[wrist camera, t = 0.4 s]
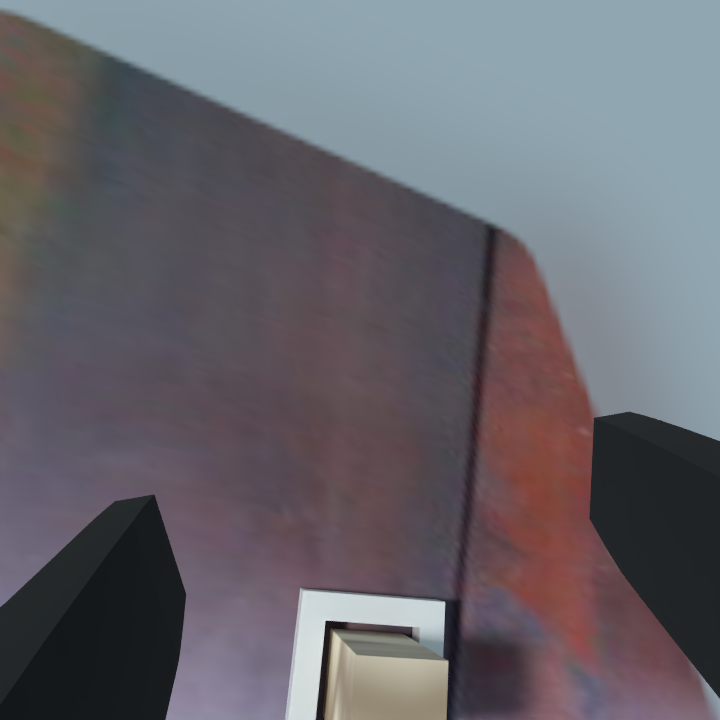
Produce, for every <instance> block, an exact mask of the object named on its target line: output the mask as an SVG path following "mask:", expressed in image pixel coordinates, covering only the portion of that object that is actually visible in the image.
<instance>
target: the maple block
mask: <svg viewBox="0 0 720 720" xmlns="http://www.w3.org/2000/svg"><path fill="white" fill-rule="evenodd" d="M447 688H448V660H446V659H444V658H443V657H441V656H439V655H438V654H436V653H434V652H433V651H431V650H429V649H428V648H426V647H424V646H423V645H421V644H419V643H418V642H416V641H414V640H413V639H411V638H409V637H407V636H406V635H404V634H401V633H387V632H373V631H359V630H345V629H331V630H330V640H329V650H328V660H327V670H326V680H325V691H324V701H323V711H322V715H323V717H324V720H446V717H447Z"/></svg>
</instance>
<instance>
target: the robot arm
mask: <svg viewBox="0 0 720 720" xmlns="http://www.w3.org/2000/svg"><path fill="white" fill-rule="evenodd" d="M590 520H591V522H592V524H593V525H594V527H595V529H596V531H597V532H598V534H599V536H600V538H601V539H602V541H603V543H604V545H605V546H606V548H607V550H608V551H609V553H610V555H611V556H612V558H613V559H614V561H615V563H616V564H617V566H618V568H619V569H620V571H621V572H622V574H623V575H624V576H625V578H626V579H627V580H628V582H629V583H630V584H631V586H632V587H633V588H634V590H635V591H636V592H637V593H638V595H639V596H640V597H641V599H642V600H643V601H644V602H645V604H646V605H647V606H648V608H649V609H650V610H651V612H652V613H653V614H654V615H655V617H656V618H657V619H658V621H659V622H660V623H661V624H662V626H663V627H664V628H665V629H666V631H667V632H668V633H669V635H670V636H671V637H672V638H673V640H674V641H675V642H676V643H677V645H678V646H679V647H680V648H681V650H682V651H683V652H684V654H685V655H686V656H687V657H688V659H689V660H690V661H691V662H692V664H693V665H694V666H695V668H696V669H697V670H698V671H699V673H700V674H701V675H702V676H703V678H704V679H705V680H706V682H707V683H708V684H709V685H710V687H711V688H712V689H713V690H714V692H715V693H716V694H717V696H718V697H719V698H720V441H717V440H715V439H712V438H709V437H706V436H703V435H701V434H698V433H695V432H692V431H690V430H687V429H684V428H681V427H678V426H675V425H672V424H669V423H666V422H663V421H660V420H657V419H654V418H650V417H647V416H644V415H640V414H636V413H632V412H625V413H620V414H614V415H609V416H602V417H597V418H594V433H593V455H592V477H591V500H590ZM185 600H186V593H185V589H184V586H183V583H182V580H181V577H180V574H179V571H178V567H177V564H176V561H175V558H174V555H173V552H172V549H171V545H170V542H169V539H168V536H167V533H166V530H165V526H164V523H163V520H162V517H161V514H160V511H159V508H158V504H157V501H156V498H155V495H149V496H143V497H138V498H132V499H126V500H120V501H115V502H114V503H113V504H111V505H110V506H109V507H108V508H106V509H105V510H104V511H103V512H102V513H101V514H99V515H98V516H97V517H96V518H95V519H94V520H93V521H92V522H91V523H90V524H89V525H88V526H86V527H85V528H84V529H83V530H82V531H81V532H80V533H79V534H78V535H77V536H76V537H75V538H74V539H73V540H72V541H71V542H70V543H69V544H67V545H66V546H65V547H64V548H63V549H62V550H61V551H60V552H59V553H58V554H57V555H56V556H55V557H54V558H53V559H52V560H51V561H50V562H49V563H47V564H46V565H45V566H44V567H43V568H42V569H41V570H40V571H39V572H38V573H37V574H36V575H35V576H34V577H33V578H32V579H30V580H29V581H28V582H27V583H26V584H25V585H24V586H23V587H22V588H21V589H20V590H19V591H18V592H17V593H16V594H15V595H13V596H12V597H11V598H10V599H9V600H8V601H7V602H6V603H5V604H4V605H3V606H1V607H0V720H165V719H166V715H167V710H168V706H169V701H170V697H171V693H172V688H173V684H174V680H175V675H176V671H177V666H178V662H179V656H180V648H181V639H182V631H183V621H184V610H185Z"/></svg>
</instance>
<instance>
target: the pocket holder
mask: <svg viewBox="0 0 720 720" xmlns="http://www.w3.org/2000/svg"><path fill="white" fill-rule="evenodd" d="M325 621H340V622H353V623H367V624H381V625H394V626H408V627H413V629H412V639H413V640H414V641H416V642H418V643H419V644H421V645H423V646H424V647H426V648H428V649H429V650H431V651H433V652H434V653H436V654H438V655H439V656H441V657H443V647H444V621H445V602H444V601H441V600H437V599H426V598H414V597H402V596H390V595H378V594H366V593H354V592H342V591H330V590H318V589H305V588H300V596H299V604H298V613H297V622H296V630H295V639H294V647H293V656H292V664H291V673H290V681H289V690H288V699H287V707H286V716H285V720H316V710H317V700H318V691H319V681H320V671H321V661H322V651H323V641H324V631H325Z"/></svg>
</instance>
